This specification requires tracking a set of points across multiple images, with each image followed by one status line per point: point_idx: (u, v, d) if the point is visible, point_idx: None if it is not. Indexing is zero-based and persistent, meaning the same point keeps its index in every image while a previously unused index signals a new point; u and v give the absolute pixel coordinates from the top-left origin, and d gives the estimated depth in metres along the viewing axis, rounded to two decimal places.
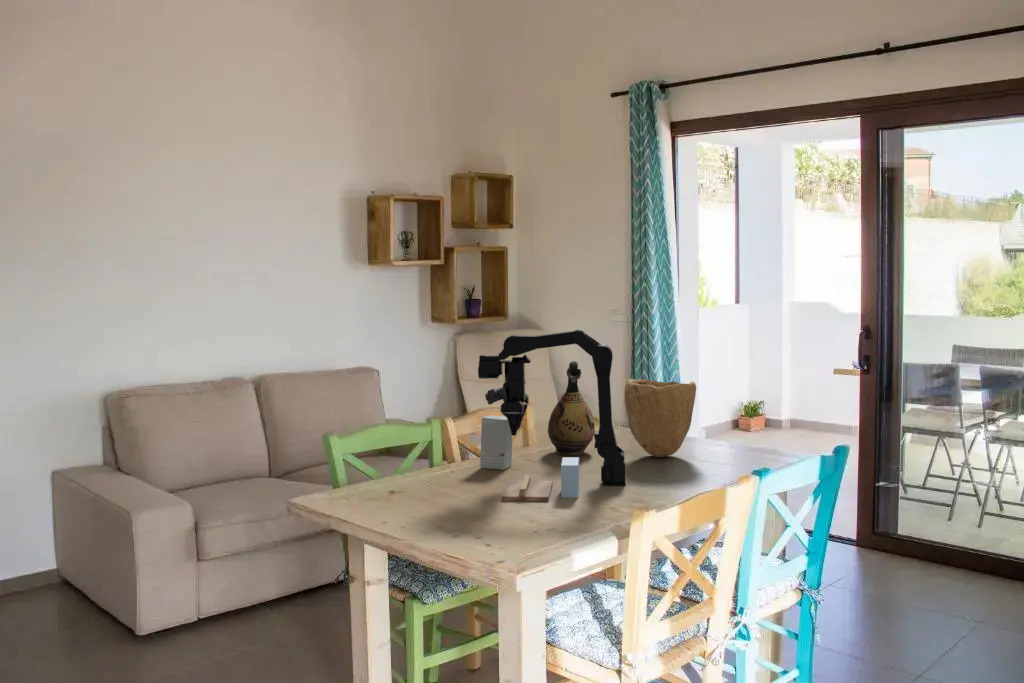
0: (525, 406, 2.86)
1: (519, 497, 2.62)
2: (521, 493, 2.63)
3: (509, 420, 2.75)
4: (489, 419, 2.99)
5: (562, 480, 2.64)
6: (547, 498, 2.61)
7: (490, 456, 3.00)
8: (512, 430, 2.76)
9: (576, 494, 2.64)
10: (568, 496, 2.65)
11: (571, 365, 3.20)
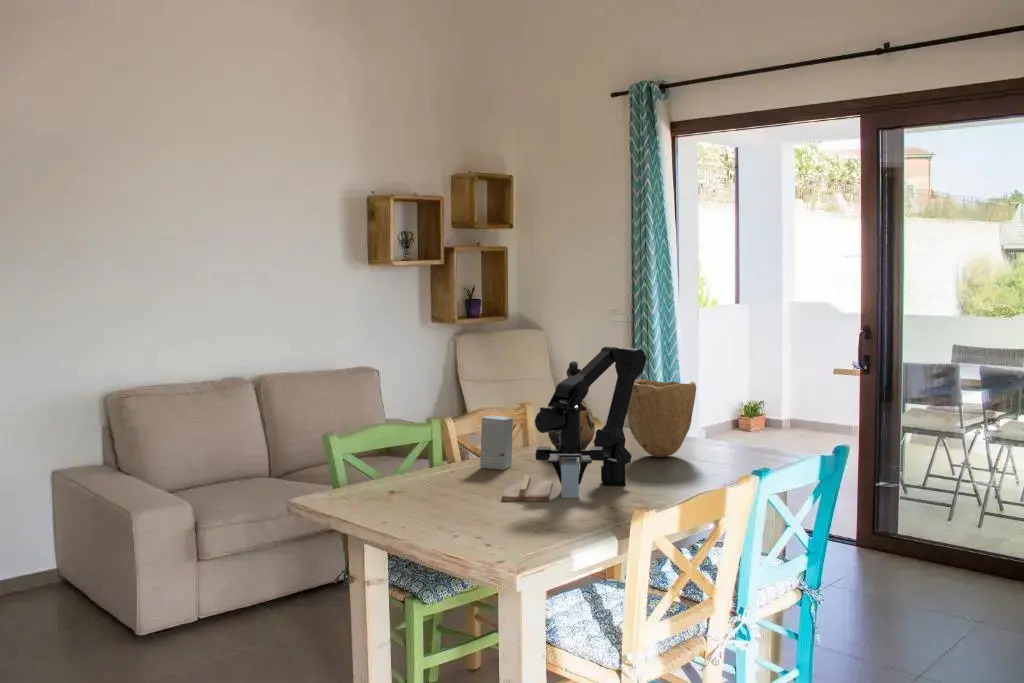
0: (581, 462, 2.66)
1: (519, 497, 2.62)
2: (521, 493, 2.63)
3: None
4: (489, 419, 2.99)
5: (562, 479, 2.64)
6: (547, 498, 2.61)
7: (490, 457, 3.00)
8: None
9: (576, 494, 2.64)
10: (568, 496, 2.65)
11: (571, 365, 3.20)
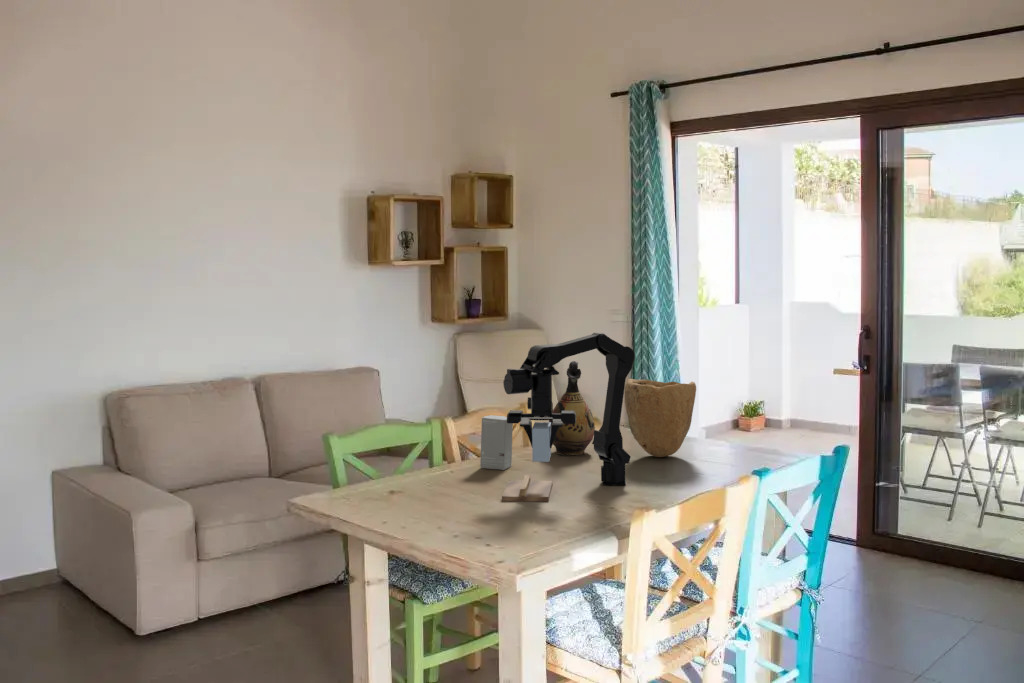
0: (552, 425, 2.66)
1: (519, 497, 2.62)
2: (521, 493, 2.63)
3: None
4: (489, 419, 2.99)
5: (533, 443, 2.64)
6: (547, 498, 2.61)
7: (490, 457, 3.00)
8: None
9: (547, 458, 2.64)
10: (539, 460, 2.64)
11: (571, 365, 3.20)
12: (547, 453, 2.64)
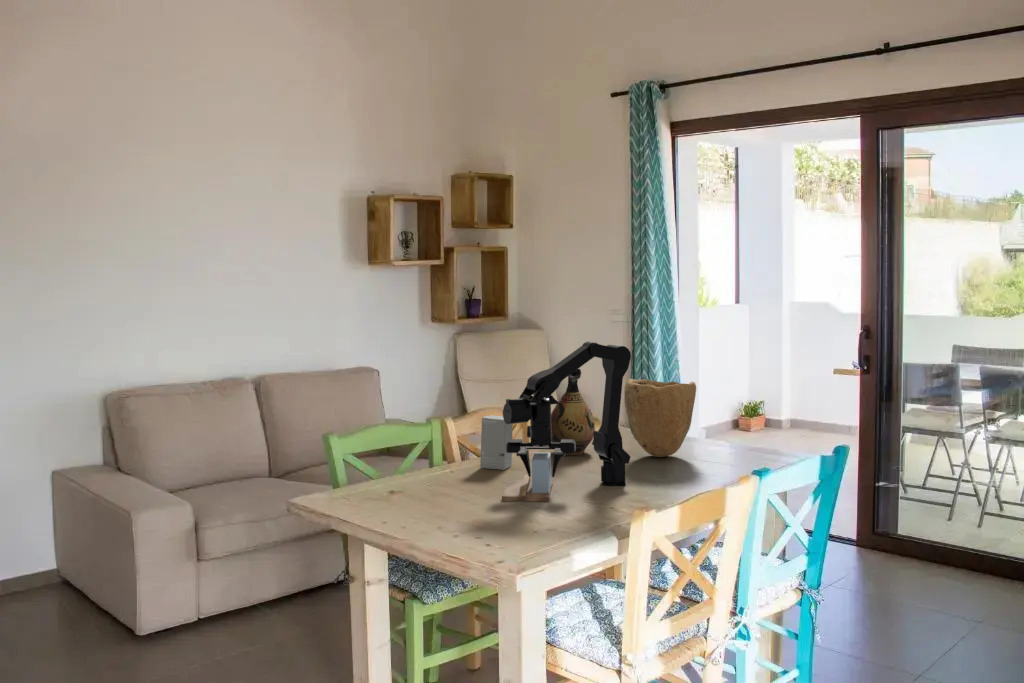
0: (554, 454, 2.67)
1: (519, 497, 2.62)
2: (521, 493, 2.63)
3: None
4: (489, 419, 2.99)
5: (533, 475, 2.65)
6: (547, 498, 2.61)
7: (490, 456, 3.00)
8: None
9: (547, 489, 2.65)
10: (539, 491, 2.65)
11: None
12: (547, 484, 2.65)
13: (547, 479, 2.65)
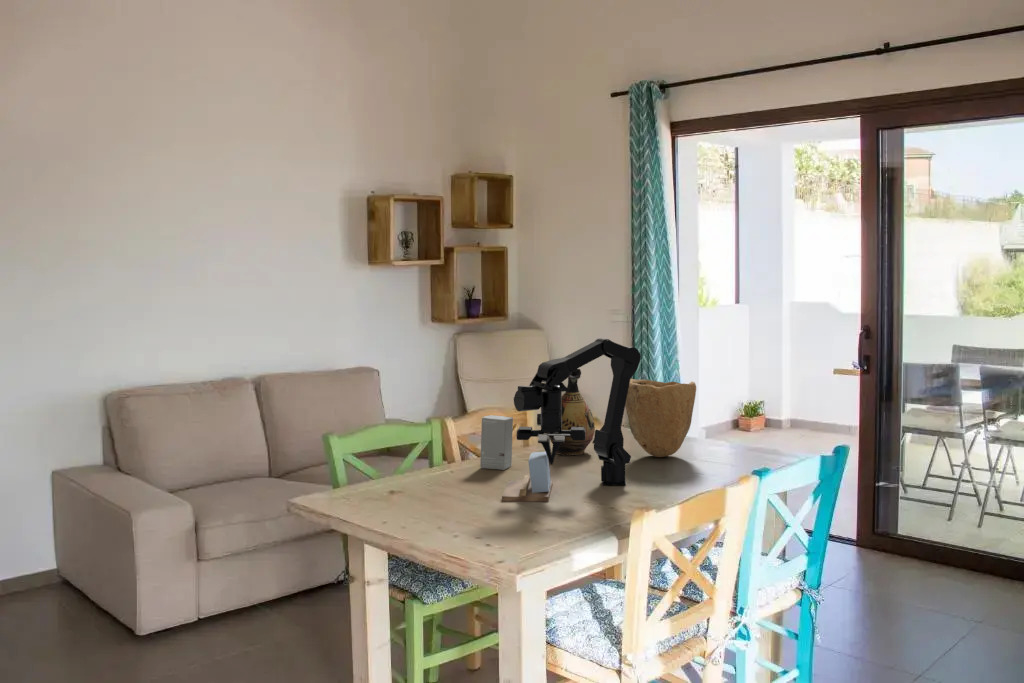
0: (553, 442, 2.66)
1: (519, 497, 2.62)
2: (521, 493, 2.63)
3: None
4: (489, 419, 2.99)
5: (531, 475, 2.65)
6: (547, 498, 2.61)
7: (490, 457, 3.00)
8: None
9: (546, 487, 2.65)
10: (538, 490, 2.65)
11: None
12: (546, 483, 2.65)
13: (545, 478, 2.65)
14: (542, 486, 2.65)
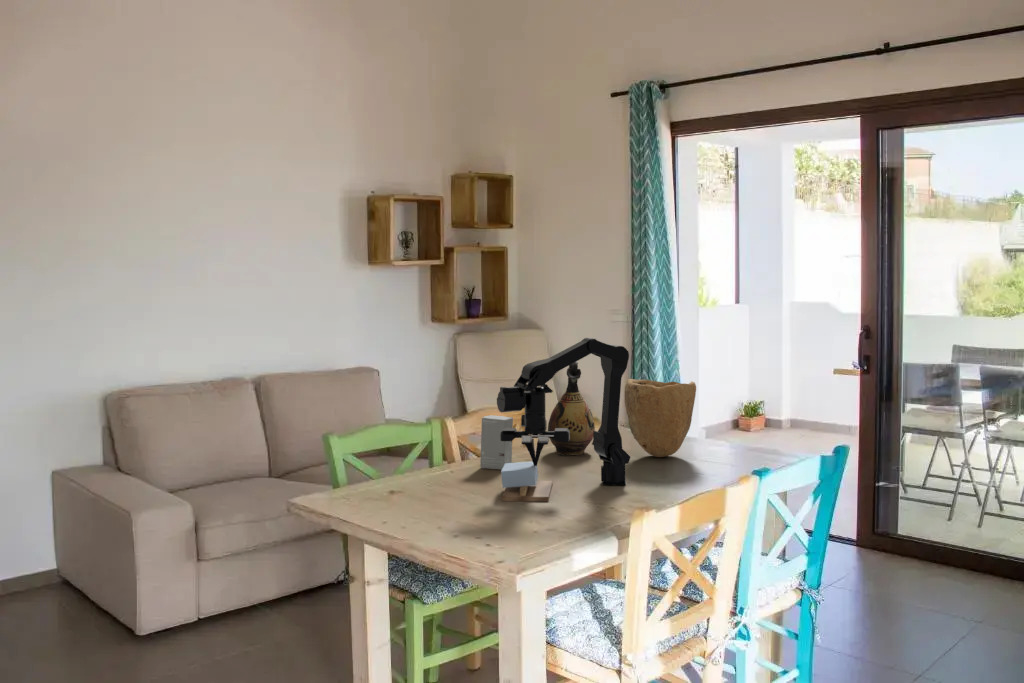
0: (537, 443, 2.67)
1: (519, 497, 2.62)
2: (521, 493, 2.63)
3: None
4: (489, 419, 2.99)
5: (517, 485, 2.66)
6: (547, 498, 2.61)
7: (490, 457, 3.00)
8: None
9: (530, 470, 2.65)
10: (533, 478, 2.65)
11: (571, 365, 3.20)
12: (525, 471, 2.65)
13: (520, 471, 2.65)
14: (528, 474, 2.65)
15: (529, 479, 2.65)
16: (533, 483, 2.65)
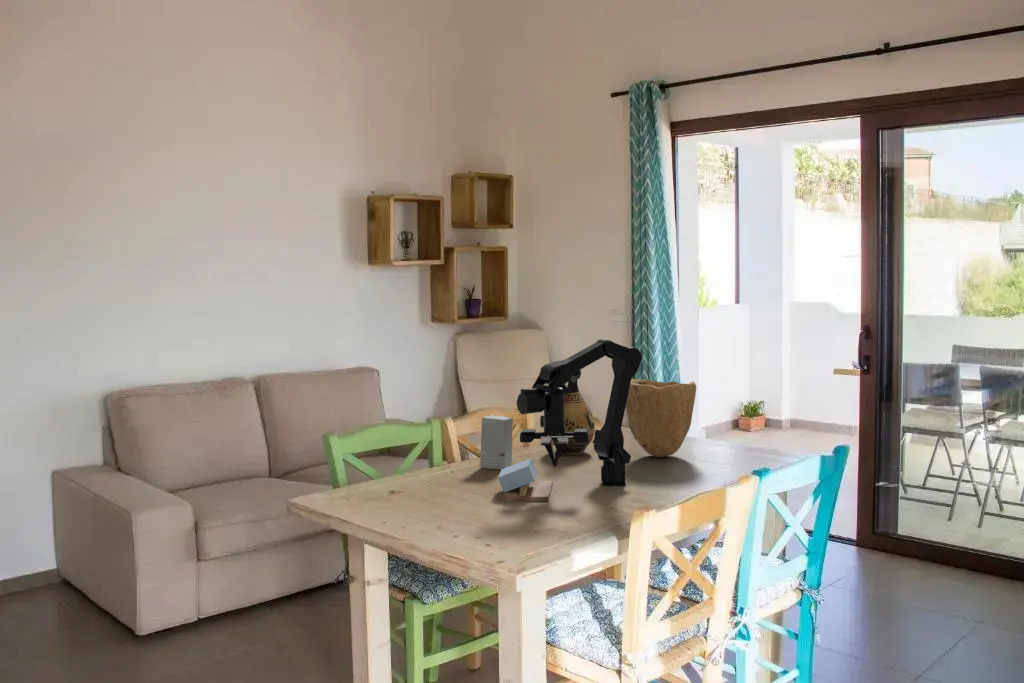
0: None
1: (519, 497, 2.62)
2: (521, 493, 2.63)
3: None
4: (489, 419, 2.99)
5: (517, 486, 2.66)
6: (547, 498, 2.61)
7: (490, 457, 3.00)
8: None
9: (525, 468, 2.65)
10: (530, 475, 2.65)
11: None
12: (521, 470, 2.65)
13: (515, 471, 2.65)
14: (525, 473, 2.65)
15: (527, 477, 2.65)
16: (532, 480, 2.65)
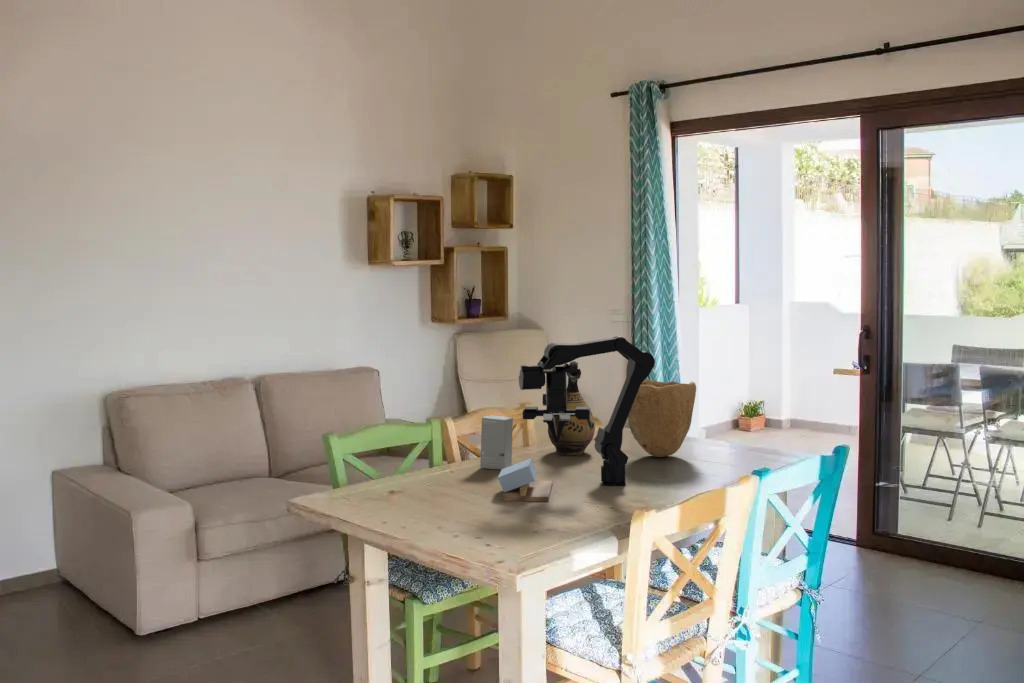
0: (559, 421, 2.73)
1: (519, 497, 2.62)
2: (521, 493, 2.63)
3: None
4: (489, 419, 2.99)
5: (517, 486, 2.66)
6: (547, 498, 2.61)
7: (490, 457, 3.00)
8: None
9: (525, 468, 2.65)
10: (530, 475, 2.65)
11: (571, 365, 3.20)
12: (521, 470, 2.65)
13: (515, 471, 2.65)
14: (525, 473, 2.65)
15: (527, 477, 2.65)
16: (532, 480, 2.65)
